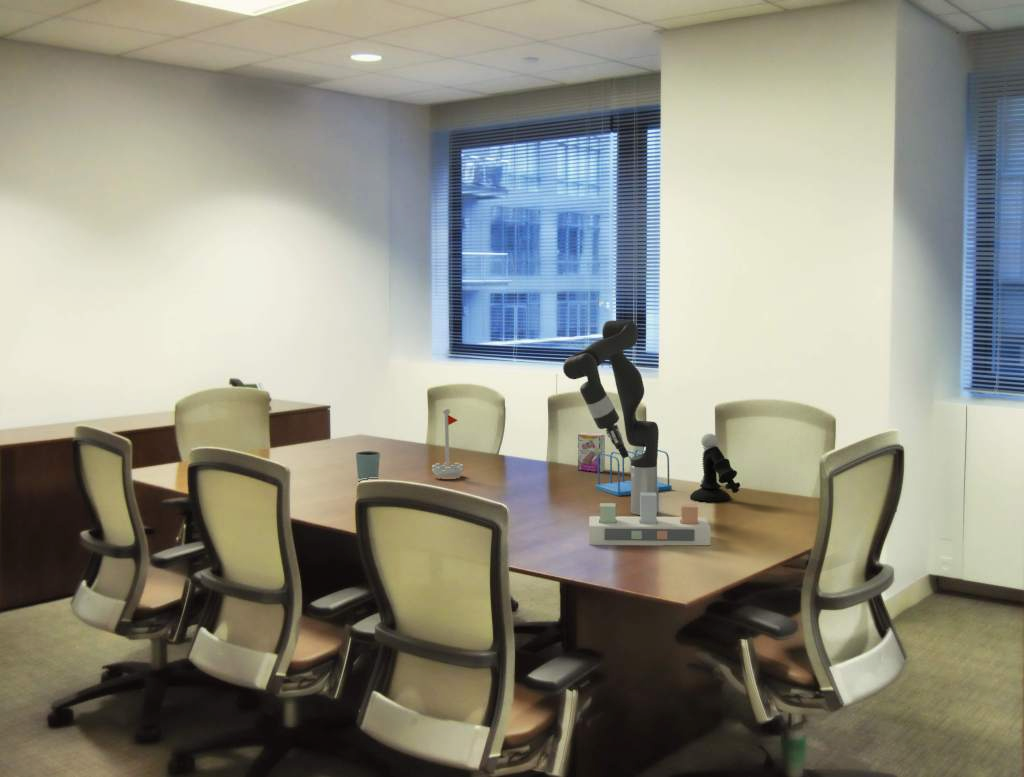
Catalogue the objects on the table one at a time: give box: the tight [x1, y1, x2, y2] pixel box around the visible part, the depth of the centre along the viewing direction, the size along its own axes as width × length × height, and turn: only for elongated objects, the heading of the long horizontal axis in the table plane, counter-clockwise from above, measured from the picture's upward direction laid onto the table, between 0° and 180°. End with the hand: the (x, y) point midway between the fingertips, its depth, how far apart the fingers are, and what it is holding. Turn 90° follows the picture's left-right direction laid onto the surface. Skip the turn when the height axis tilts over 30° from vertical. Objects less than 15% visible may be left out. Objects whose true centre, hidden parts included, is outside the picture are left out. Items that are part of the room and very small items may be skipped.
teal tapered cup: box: [355, 450, 381, 481], centre depth 440 cm, size 10×10×12 cm
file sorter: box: [595, 448, 672, 497], centre depth 414 cm, size 25×17×15 cm
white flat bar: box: [588, 515, 711, 546], centre depth 334 cm, size 38×15×6 cm, turn 85°
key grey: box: [639, 492, 658, 524], centre depth 334 cm, size 5×5×10 cm
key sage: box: [599, 502, 617, 523], centre depth 335 cm, size 5×5×10 cm
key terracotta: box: [680, 503, 699, 524], centre depth 333 cm, size 5×5×10 cm
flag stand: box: [431, 407, 464, 477], centre depth 444 cm, size 13×13×30 cm
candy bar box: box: [577, 432, 606, 474], centre depth 455 cm, size 11×5×16 cm, turn 58°
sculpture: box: [689, 433, 741, 504], centre depth 390 cm, size 15×24×25 cm, turn 27°
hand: (625, 456), depth 332 cm, fingers closed
